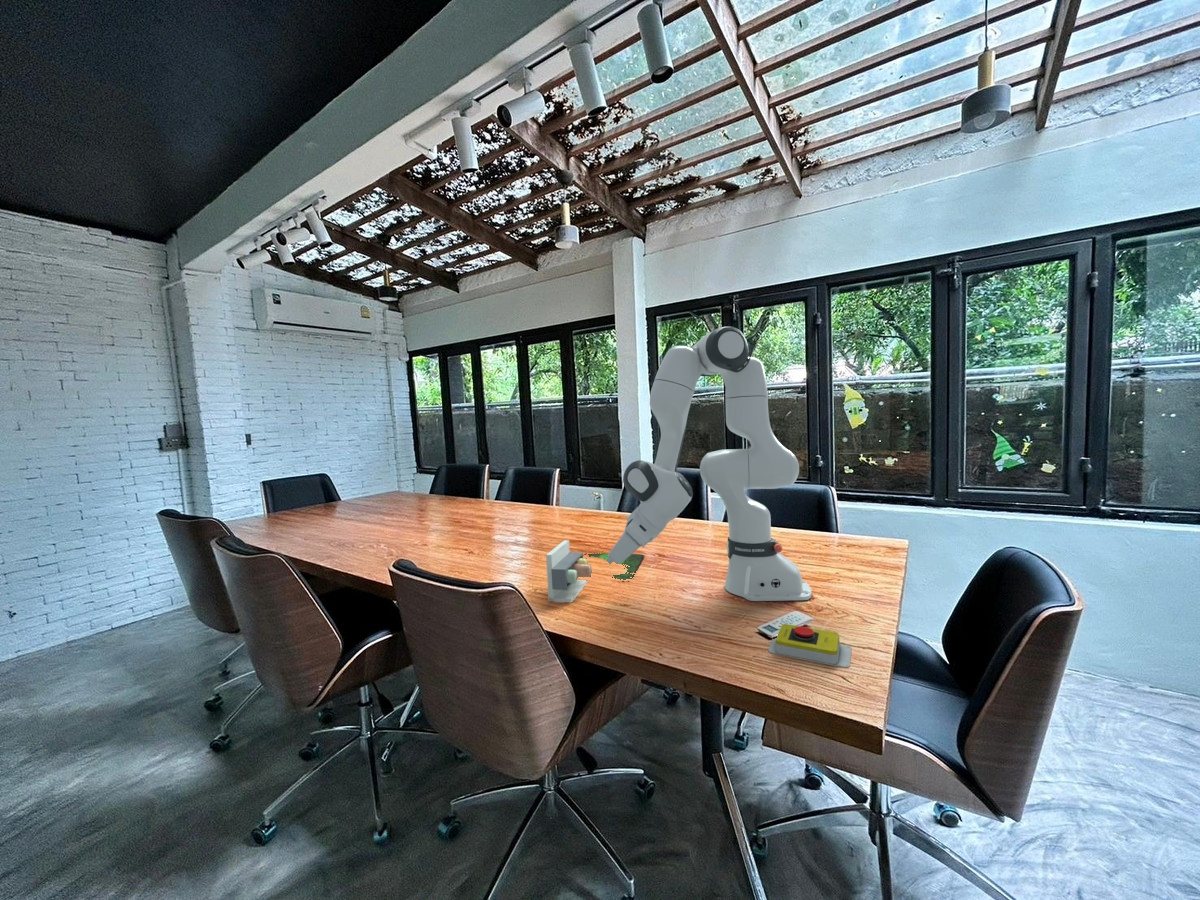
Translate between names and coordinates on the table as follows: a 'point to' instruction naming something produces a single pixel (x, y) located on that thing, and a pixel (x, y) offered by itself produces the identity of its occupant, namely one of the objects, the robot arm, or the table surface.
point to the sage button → (571, 576)
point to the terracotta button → (582, 570)
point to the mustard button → (582, 561)
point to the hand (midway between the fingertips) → (608, 560)
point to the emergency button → (811, 645)
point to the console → (562, 573)
